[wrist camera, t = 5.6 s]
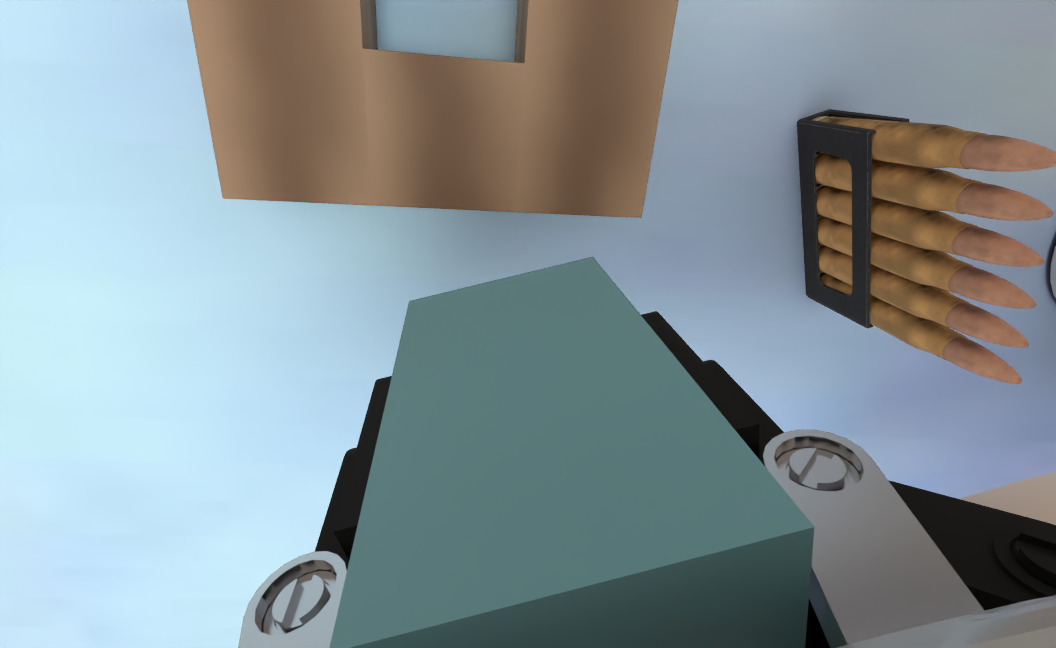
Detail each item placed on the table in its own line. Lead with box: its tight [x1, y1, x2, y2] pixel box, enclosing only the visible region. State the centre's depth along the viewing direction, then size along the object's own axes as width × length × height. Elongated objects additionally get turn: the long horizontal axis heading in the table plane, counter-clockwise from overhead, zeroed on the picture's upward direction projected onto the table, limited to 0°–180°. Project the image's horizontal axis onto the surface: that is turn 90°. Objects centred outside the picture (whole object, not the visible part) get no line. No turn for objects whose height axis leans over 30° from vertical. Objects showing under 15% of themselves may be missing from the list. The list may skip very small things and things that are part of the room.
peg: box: [329, 257, 814, 648], centre depth 9 cm, size 4×4×8 cm
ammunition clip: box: [797, 109, 1056, 384], centre depth 23 cm, size 11×2×12 cm, turn 17°
